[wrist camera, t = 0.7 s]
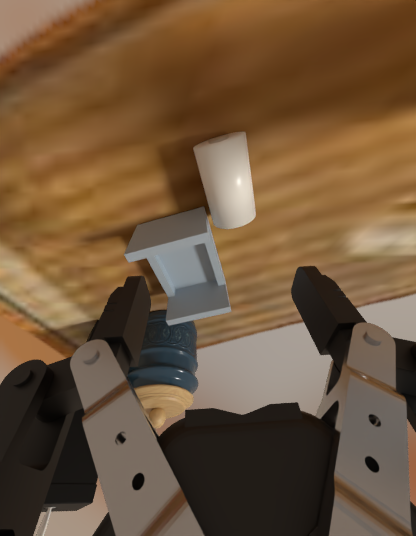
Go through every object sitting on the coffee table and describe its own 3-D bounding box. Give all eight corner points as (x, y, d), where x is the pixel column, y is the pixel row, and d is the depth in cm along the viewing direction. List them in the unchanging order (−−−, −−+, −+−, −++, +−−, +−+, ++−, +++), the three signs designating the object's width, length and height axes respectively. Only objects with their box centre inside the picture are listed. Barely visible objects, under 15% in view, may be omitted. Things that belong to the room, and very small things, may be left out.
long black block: (86, 339, 46) (-10, 557, 24) (97, 319, 42) (-7, 557, 20) (122, 348, 49) (65, 549, 27) (135, 330, 45) (81, 548, 23)
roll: (188, 144, 24) (198, 149, 20) (234, 128, 24) (254, 130, 20) (209, 218, 30) (220, 235, 25) (245, 204, 30) (263, 219, 25)
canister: (209, 324, 45) (217, 421, 31) (173, 351, 51) (167, 444, 37) (157, 299, 40) (139, 404, 26) (124, 332, 45) (94, 433, 31)
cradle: (204, 206, 29) (207, 232, 23) (224, 279, 37) (231, 311, 32) (137, 225, 30) (123, 254, 24) (172, 291, 39) (168, 325, 33)
